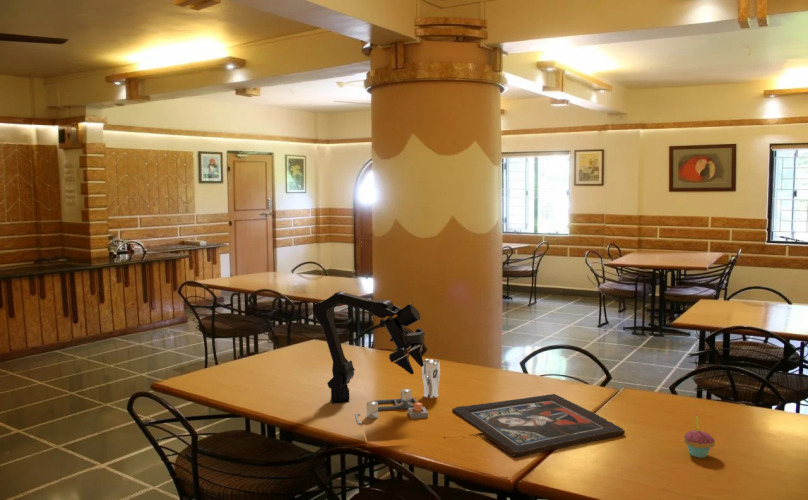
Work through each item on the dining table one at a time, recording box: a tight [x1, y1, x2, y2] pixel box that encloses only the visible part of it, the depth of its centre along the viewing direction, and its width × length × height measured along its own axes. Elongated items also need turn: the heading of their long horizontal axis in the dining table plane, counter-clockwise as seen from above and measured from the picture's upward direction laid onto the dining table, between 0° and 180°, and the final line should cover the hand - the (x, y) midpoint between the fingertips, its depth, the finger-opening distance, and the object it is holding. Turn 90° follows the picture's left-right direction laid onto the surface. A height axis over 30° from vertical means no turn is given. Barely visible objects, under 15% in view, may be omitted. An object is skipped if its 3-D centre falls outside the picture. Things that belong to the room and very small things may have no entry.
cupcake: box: [683, 413, 716, 459], centre depth 191 cm, size 9×8×12 cm
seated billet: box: [400, 388, 412, 405], centre depth 233 cm, size 4×4×6 cm
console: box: [407, 406, 429, 420], centre depth 223 cm, size 6×6×3 cm
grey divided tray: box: [373, 397, 418, 412], centre depth 233 cm, size 15×8×3 cm, turn 99°
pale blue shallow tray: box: [354, 413, 364, 425], centre depth 222 cm, size 11×9×1 cm
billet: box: [366, 400, 379, 420], centre depth 221 cm, size 4×4×6 cm
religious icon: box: [451, 393, 626, 457], centre depth 217 cm, size 40×45×3 cm
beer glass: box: [421, 358, 441, 399], centre depth 244 cm, size 7×7×15 cm
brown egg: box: [413, 401, 423, 412], centre depth 223 cm, size 3×3×4 cm
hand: (417, 370), depth 230 cm, fingers open, 9 cm apart
